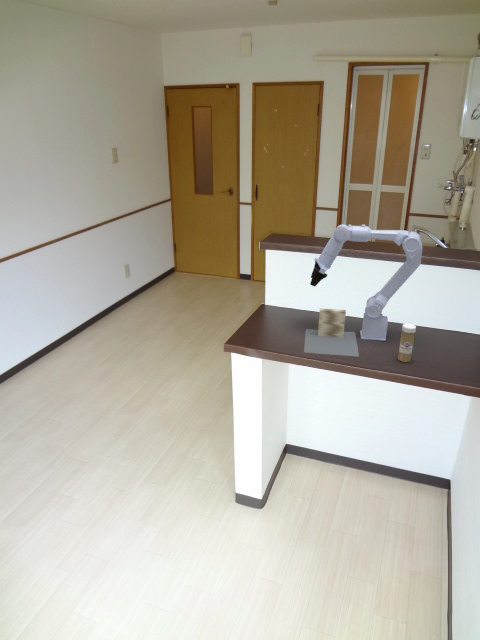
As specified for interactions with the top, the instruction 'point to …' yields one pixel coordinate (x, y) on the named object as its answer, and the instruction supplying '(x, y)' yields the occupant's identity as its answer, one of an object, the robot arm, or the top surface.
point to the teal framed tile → (331, 322)
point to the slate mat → (331, 344)
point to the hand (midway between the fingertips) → (312, 281)
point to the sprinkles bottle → (406, 342)
